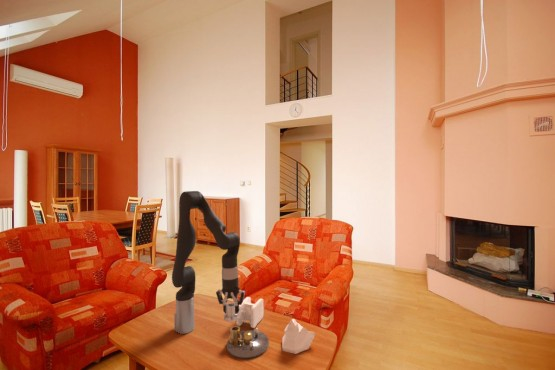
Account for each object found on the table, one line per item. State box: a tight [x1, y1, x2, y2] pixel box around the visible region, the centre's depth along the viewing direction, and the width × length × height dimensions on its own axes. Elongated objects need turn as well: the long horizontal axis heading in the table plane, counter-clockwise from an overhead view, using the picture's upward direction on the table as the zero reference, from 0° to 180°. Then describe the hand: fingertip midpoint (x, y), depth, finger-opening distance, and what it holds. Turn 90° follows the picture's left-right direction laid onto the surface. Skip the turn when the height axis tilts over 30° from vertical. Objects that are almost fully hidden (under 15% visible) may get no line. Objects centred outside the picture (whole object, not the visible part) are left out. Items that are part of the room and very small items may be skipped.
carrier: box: [226, 327, 270, 360], centre depth 126 cm, size 20×20×6 cm
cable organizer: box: [235, 296, 265, 329], centre depth 147 cm, size 15×11×12 cm
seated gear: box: [228, 325, 242, 345], centre depth 127 cm, size 6×6×6 cm
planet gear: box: [223, 302, 239, 322], centre depth 121 cm, size 6×6×6 cm
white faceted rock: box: [281, 318, 316, 355], centre depth 124 cm, size 12×15×14 cm
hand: (231, 312), depth 121 cm, fingers closed on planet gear, 4 cm apart
